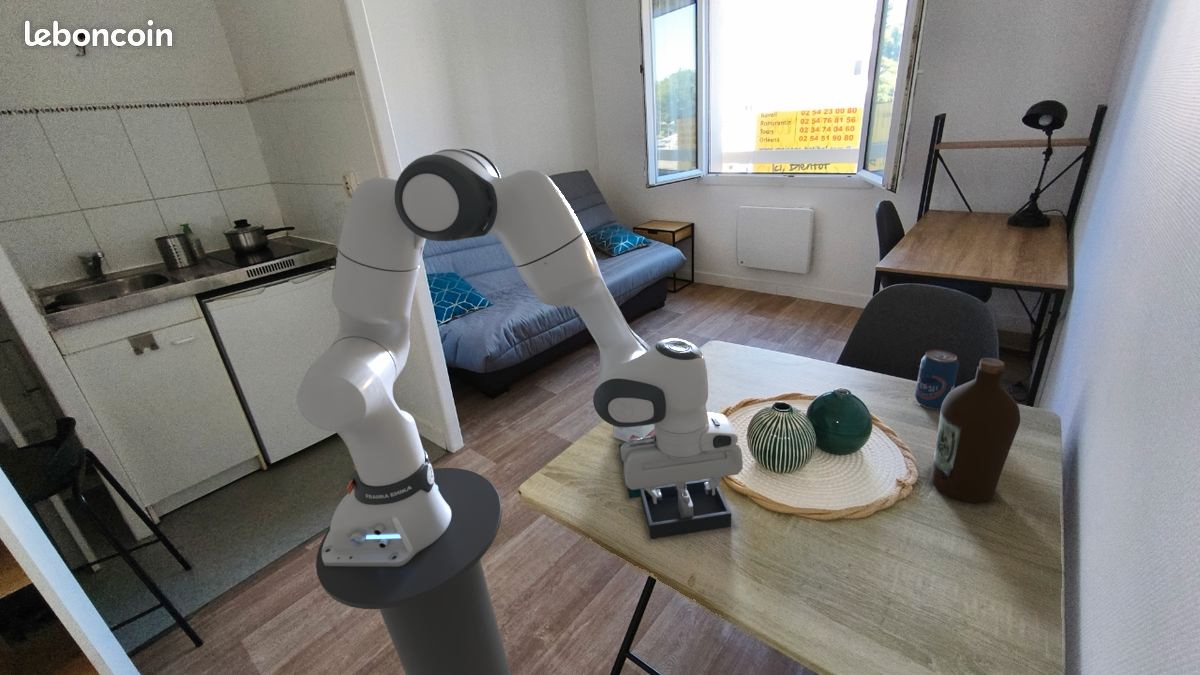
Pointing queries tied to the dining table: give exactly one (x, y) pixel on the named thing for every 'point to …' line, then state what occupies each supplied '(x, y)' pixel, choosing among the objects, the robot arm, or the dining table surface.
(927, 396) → the soda can
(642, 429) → the ink cartridge box
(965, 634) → the dining table surface
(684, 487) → the lighter
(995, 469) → the brown bottle
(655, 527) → the front tray
